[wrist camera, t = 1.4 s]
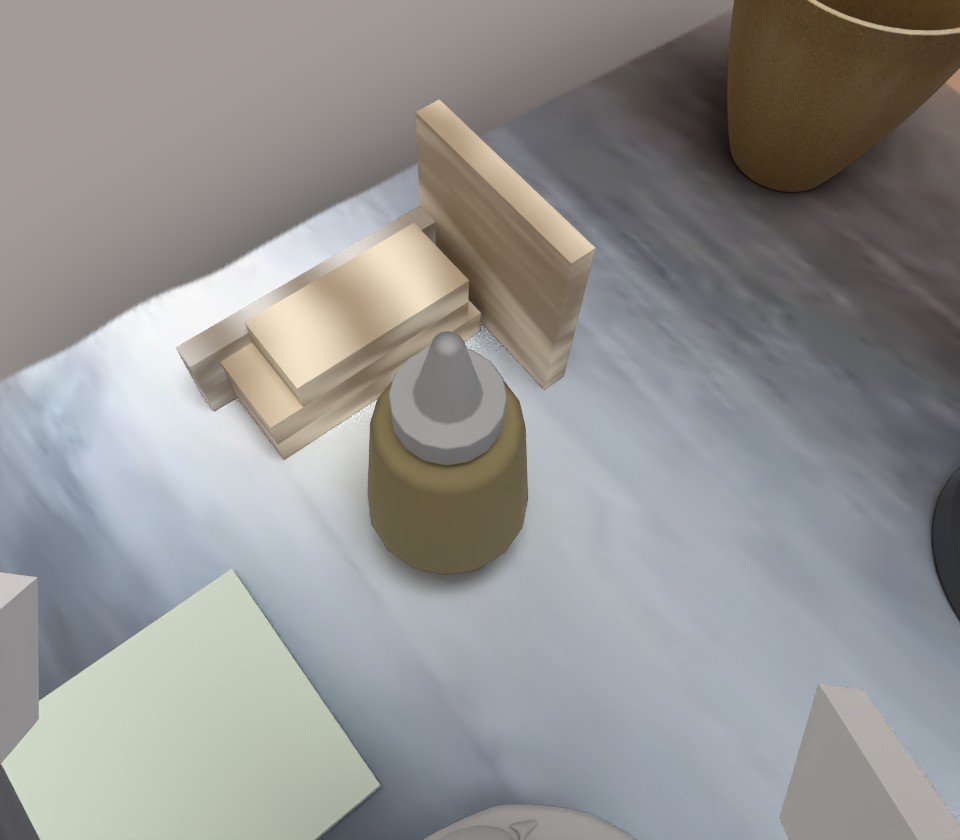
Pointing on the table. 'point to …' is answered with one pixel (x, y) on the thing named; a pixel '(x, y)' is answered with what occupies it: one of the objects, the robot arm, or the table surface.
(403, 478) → the squeeze bottle
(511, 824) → the lumpy-topped squat cylinder
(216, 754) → the sage mat
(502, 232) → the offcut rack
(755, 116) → the plant pot
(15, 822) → the table surface
